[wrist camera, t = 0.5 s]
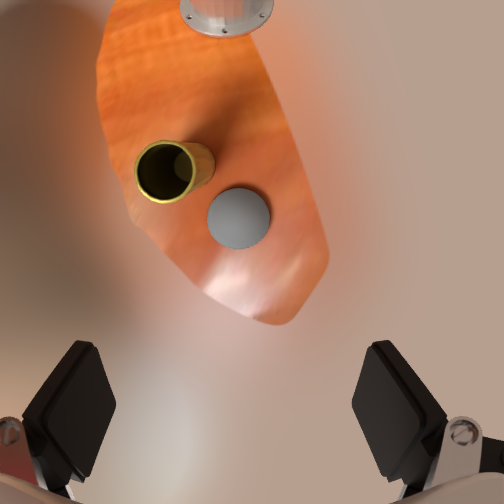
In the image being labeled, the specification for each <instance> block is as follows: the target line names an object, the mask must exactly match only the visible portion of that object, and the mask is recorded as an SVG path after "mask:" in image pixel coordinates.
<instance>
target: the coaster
mask: <svg viewBox="0 0 504 504" xmlns="http://www.w3.org/2000/svg"><path fill="white" fill-rule="evenodd" d="M207 222H208V228H209V230H210V233H211V234H212V236H213V237H214V239H215V240H216V241H217V242H219V243H220V244H221V245H223V246H225V247H227V248H231V249H246V248H249V247H252V246H254V245H255V244H257V243H258V242H259V241H261V239H262V238H263V237H264V236H265V234H266V232H267V230H268V227H269V222H270V215H269V211H268V208H267V206H266V204H265V202H264V201H263V199H262V198H261V197H260V196H259V195H258V194H256V193H255V192H253V191H251V190H248V189H244V188H233V189H229V190H226V191H224V192H222V193H221V194H219V195H218V196H217V197H216V198H215V199H214V201H213V202H212V204H211V206H210V208H209V211H208V216H207Z"/></svg>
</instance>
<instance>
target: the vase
mask: <svg viewBox="0 0 504 504" xmlns="http://www.w3.org/2000/svg"><path fill="white" fill-rule="evenodd" d="M214 170H215V160H214V157H213V155H212V153H211V151H210V150H209V149H208V148H207V147H205V146H204V145H202V144H200V143H195V142H188V143H186V142H177V141H169V140H160V141H157V142H154V143H152V144H150V145H148V146H147V147H146V148H145V149H144V150H143V151H142V152H141V153H140V154H139V156H138V157H137V160H136V163H135V167H134V177H135V181H136V184H137V187H138V189H139V190H140V191H141V193H142V194H143V195H144V196H145V197H146V198H148V199H149V200H151V201H153V202H157V203H164V204H167V203H173V202H175V201H178V200H180V199H182V198H184V197H185V196H186V195H187V194H189V193H190V192H192V191H193V190H195V189H197V188H200V187H202V186H204V185H206V184H207V183H208V182H209V181H210V179H211V178H212V176H213V174H214Z"/></svg>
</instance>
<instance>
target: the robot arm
mask: <svg viewBox="0 0 504 504" xmlns="http://www.w3.org/2000/svg"><path fill="white" fill-rule="evenodd" d="M273 5H274V0H181V1H180V12H181V15H182V18H183V20H184V21H185V23H186V24H187V25H188V26H189V27H190V28H191V29H193V30H194V31H196V32H198V33H200V34H202V35H206V36H209V37H215V38H232V37H238V36H242V35H246V34H248V33H250V32H253V31H255V30H256V29H258V28H260V27H261V26H262V25H263V24H264V23H265V22H266V21H267V20H268V18H269V17H270V15H271V13H272V10H273ZM261 17H263V18H261ZM190 18H191V19H190ZM224 32H227V33H224ZM115 408H116V400H115V398H114V395H113V392H112V390H111V387H110V384H109V382H108V379H107V376H106V373H105V370H104V367H103V364H102V361H101V358H100V355H99V352H98V349H97V348H96V347H94V345H93V344H92V343H91V342H86V341H79V340H77V341H75V343H74V344H73V345H72V346H71V347H70V349H69V350H68V351H67V353H66V354H65V356H64V357H63V358H62V359H61V361H60V362H59V363H58V365H57V366H56V367H55V369H54V370H53V371H52V373H51V374H50V376H49V377H48V378H47V380H46V381H45V382H44V384H43V385H42V387H41V388H40V389H39V391H38V392H37V394H36V395H35V397H34V398H33V399H32V401H31V403H30V404H29V405H28V407H27V408H26V410H25V412H24V413H23V414H22V417H23V418H24V419H23V421H22V423H21V421H20V420H19V419H17V418H14V417H3V418H1V419H0V504H81V503H79V502H76V500H75V498H74V495H73V493H72V491H71V489H70V486H69V484H68V483H69V480H70V479H73V480H75V481H78V482H81V483H84V480H85V478H86V477H89V476H90V474H91V471H92V468H93V466H94V463H95V460H96V457H97V455H98V452H99V449H100V446H101V444H102V441H103V439H104V436H105V433H106V431H107V429H108V426H109V423H110V421H111V418H112V416H113V414H114V411H115ZM352 408H353V410H354V413H355V415H356V417H357V419H358V422H359V424H360V426H361V429H362V431H363V433H364V435H365V438H366V440H367V442H368V445H369V447H370V449H371V452H372V454H373V456H374V459H375V461H376V463H377V466H378V468H379V470H380V473H381V475H382V476H384V477H387V480H388V482H392V481H395V480H397V479H400V478H402V480H403V482H404V486H403V488H402V490H401V493H400V495H399V497H398V500H397V501H396V502H393V503H390V504H504V441H501V440H496V439H491V438H488V437H483V435H482V430H481V427H480V425H479V424H478V423H477V422H476V421H475V420H473V419H472V418H469V417H464V416H459V417H455V418H453V419H451V420H450V421H448V420H447V418H446V417H447V415H446V413H445V412H444V410H443V409H442V408H441V406H440V405H439V404H438V402H437V401H436V400H435V398H434V397H433V395H432V394H431V393H430V392H429V390H428V389H427V387H426V386H425V385H424V383H423V382H422V381H421V380H420V378H419V377H418V376H417V374H416V373H415V372H414V370H413V369H412V368H411V367H410V365H409V364H408V363H407V361H406V360H405V359H404V358H403V357H402V355H401V354H400V352H399V351H398V350H397V349H396V348H395V346H394V345H393V344H392V343H391V342H390V341H389V340H384V341H377V342H373V343H372V345H371V346H370V347H368V349H367V352H366V355H365V359H364V363H363V366H362V370H361V373H360V377H359V380H358V383H357V386H356V389H355V392H354V396H353V398H352Z"/></svg>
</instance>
